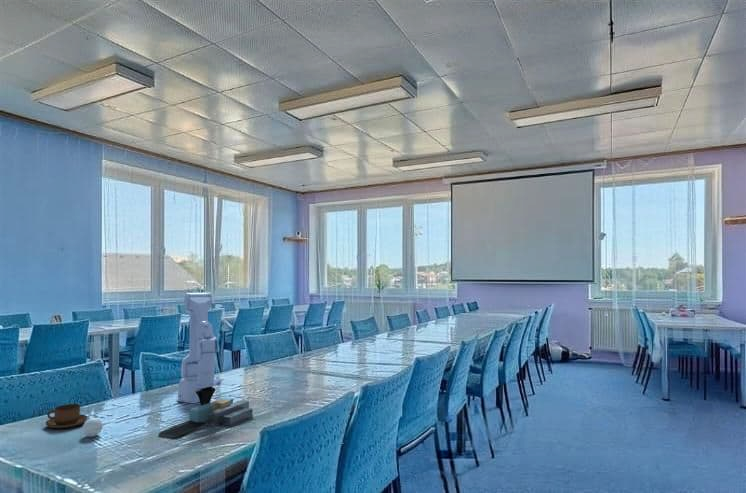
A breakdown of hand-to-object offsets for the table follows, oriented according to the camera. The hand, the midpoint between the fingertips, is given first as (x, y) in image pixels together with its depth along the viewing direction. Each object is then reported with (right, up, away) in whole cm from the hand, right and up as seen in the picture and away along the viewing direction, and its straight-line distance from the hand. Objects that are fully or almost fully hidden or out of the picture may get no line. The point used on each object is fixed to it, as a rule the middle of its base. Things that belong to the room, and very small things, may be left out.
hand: (204, 408), depth 177 cm
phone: (-1, -2, -17) cm, 17 cm away
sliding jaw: (+3, -2, -1) cm, 4 cm away
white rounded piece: (-27, -1, -23) cm, 36 cm away
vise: (+12, -2, -6) cm, 14 cm away
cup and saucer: (-42, -2, -14) cm, 44 cm away
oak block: (+7, -2, -3) cm, 8 cm away
